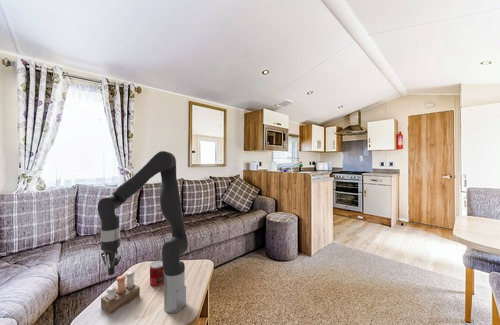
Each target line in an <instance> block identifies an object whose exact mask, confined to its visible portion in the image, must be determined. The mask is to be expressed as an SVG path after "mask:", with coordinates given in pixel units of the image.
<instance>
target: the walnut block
mask: <svg viewBox="0 0 500 325" xmlns="http://www.w3.org/2000/svg"><path fill="white" fill-rule="evenodd" d="M140 293H141V290H140V286H139V285H137V284H135V283H134V287H133V288H132V289H130V290H128V289H127V283H125V293H123V294H121V295H118V288H116V290H115V298H114V299H112V300H111V301H108V293H106V295H104V296H102V297H101V298H100V309H101V308H102V310H103V311H104V310H105V311H104V312H106V313H108V315H110V314H111V315H112V314H114V313H115V312H117V311H119V310H120V309H122V308H124V307H125V306H126V305H128V304H130V303H131V302H133V301H135V300H136V299H138V298H140V296H141V295H140Z"/></svg>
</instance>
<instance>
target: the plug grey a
mask: <svg viewBox="0 0 500 325" xmlns="http://www.w3.org/2000/svg"><path fill="white" fill-rule="evenodd" d="M115 290H117V286H115V285H112V286H109V287H108V288H106V294H108V301H111V300H112V299H114V298H115Z"/></svg>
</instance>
